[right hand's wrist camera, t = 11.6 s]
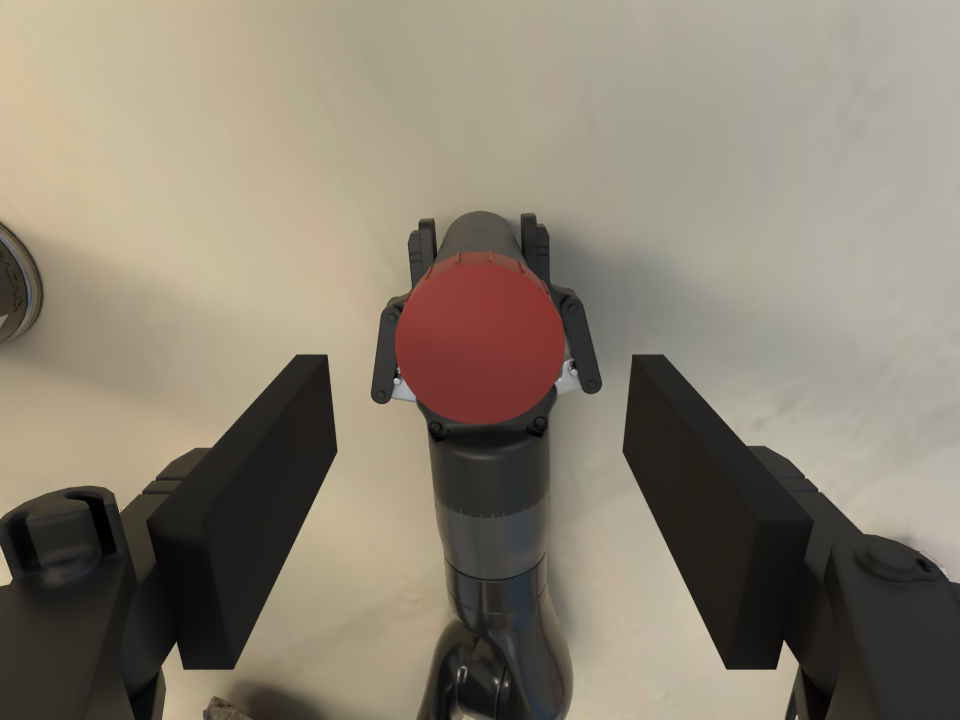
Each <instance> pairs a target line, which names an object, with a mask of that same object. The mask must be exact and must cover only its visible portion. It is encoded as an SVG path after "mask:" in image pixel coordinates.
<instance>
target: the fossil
mask: <svg viewBox="0 0 960 720" xmlns="http://www.w3.org/2000/svg"><path fill="white" fill-rule="evenodd" d="M203 719H204V720H254V719H252V718H250V717H249V716H247V715H245V714H244V713H243V712H242V711H241V710H239V709H238V708H237V707H236V706H235V705H234V704H232V703H230V702H227V701H225V700H223V699H220V698H217V697H215V696H214V697H213V698H212V699H211V701H210V704H209V706H208V708H207V709H206V710H204V711H203Z"/></svg>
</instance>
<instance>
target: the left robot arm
mask: <svg viewBox="0 0 960 720" xmlns="http://www.w3.org/2000/svg"><path fill="white" fill-rule="evenodd" d="M521 249H522V255H523V257H524V260H525V262H526V264H527V267H528V269H530V270H531V271H532V272H533V273H534V274H535V275H536V276H537V277H538V278H539V279H540V281H542V280H543V281H544V282H545V284H546V286H547V288H548V290H549V292H550V297H551V299H552V301H553V303H554V305H555V307H556V308H557V310H558V312H559V314H560V316H561V318H562V320H563V323H564V324H562V325H563V328H564V332H565V336H566V340H567V344H568V347H569V351H570V353H569V354H566V355H564V358H563V363H562V366H561V369H560V372H559V375H558V377H557V379H556V381H555V383H554V384H553V386H552V387H551V389H550V390H549V392H548V393H547V394H546V395H545V396H544V397H543V398H542V399H541V400H540V401H539V402H538V403H537V404H536V405H535V406H533V407H532V408H531V409H529V410H528V411H526V412H525V413H523V414H521V415H519V416H517V417H514V418H512V419H509V420H506V421H502V422H498V423H492V424H467V423H462V422H457V421H454V420H451V419H448V418H445V417H443V416H441V415H439V414H437V413H435V412H434V411H432V410H431V409H429V408H428V407H427V406H425V405H424V404H423V403H422V402H421V401H420V400H419V399H418V398H417V397H416V396H415V395H414V394H413V393H412V392H411V390H410V389H409V387H408V386H407V384H406V383H405V381H404V379H403V377H402V375H401V372H400V369H399V366H398V363H397V358H396V350H395V338H396V335H395V332H396V329H397V326H398V322H399V319H400V317H401V314H402V312H403V309H404V307H405V305H404V302H405V300H406V298H407V296H408V294H409V293H407V294H405V295H403V296H400V297H393V298H392V299H390V301H389V302H388V304H387V307H386V308H385V309H384V310H383V312H382V314H381V320H380V328H379V335H378V343H377V351H376V358H375V366H374V374H373V381H372V389H371V397H372V399H373V400H374V401H375V402H376V403H379V404H385V403H387V402H389V401H390V399H391V398H392V399H398V400H404V401H410V402H416V403H417V406H418V408H419V409H420V411H421V412H422V413H423V415H424V417H425V419H426V421H427V427H428V437H429V448H430V458H431V468H432V478H433V488H434V498H435V508H436V517H437V524H438V529H439V533H440V537H441V540H442V544H443V550H444V561H445V571H446V582H447V591H448V597H449V602H450V606H451V609H452V612H453V613H454V615H455V618H454V619H453V620H452V621H451V622H450V623H449V624H448V625H447V626H446V627H445V629H444V630H443V632H442V633H441V635H440V637H439V640H438V642H437V645H436V648H435V651H434V655H433V659H432V663H431V667H430V671H429V675H428V679H427V683H426V687H425V691H424V694H423V698H422V701H421V705H420V708H419V711H418V714H417V717H416V720H462V719H463V717H464V715H468V716H470V717H472V718H474V719H476V720H565V719H566V717H567V714H568V712H569V709H570V705H571V701H572V694H573V669H572V661H571V656H570V652H569V648H568V645H567V641H566V639H565V636H564V633H563V630H562V627H561V625H560V622H559V619H558V616H557V614H556V611H555V608H554V605H553V602H552V599H551V596H550V593H549V591H548V587H547V535H548V529H549V522H550V465H549V414H550V411H551V409H552V407H553V405H554V403H555V402H556V399H557V395H561V394H565V393H568V392H572V391H576V390H579V389H583V391H584V392H586V393H588V394H594V393H597V392H598V391H599V390H600V389H601V387H602V380H601V376H600V372H599V368H598V364H597V360H596V356H595V352H594V348H593V344H592V340H591V336H590V332H589V328H588V324H587V320H586V315H585V311H584V307H583V304H582V302H581V301H580V299H579V298H578V296H577V295H576V293H575V292H574V291H573V290H572V289H569V288H561V287H558V286H555V285H553V284H551V283H550V270H549V234H548V232H547V230H546V227H545V226H544V225H543V224H537V223H536V215H535V214H534V213H527V214H521ZM408 250H409V260H410V270H411V280H412V290H414V288H415V286H416V285H417V283H418V282H419V281H420V279H421V278H422V277H423V276H424V275H425V274H426V273H427V271H428V269H429V267H431V266H432V267H433V264H434V262H435V259H436V257H437V244H436V232H435V222H434V218H432V219H421V220H420V221H419V230H414V231H413V232H412V233H411V234H410V238H409V241H408ZM40 301H41V289H40V283H39V278H38V275H37V272H36V269H35V267H34V264H33V262H32V260H31V259H30V257H29V255H28V254H27V252H26V251H25V249H24V248H23V246H22V245H21V244H20V243H19V241H18V240H17V239H16V238H15V237H14V236H13V235H12V234H11V233H10V232H9V231H8V230H7V229H5V228H4V227H3V226H2V225H0V344H1V343H4V342H6V341H9V340H11V339H13V338H16V337H18V336H19V335H21V334H22V333H24V332H25V331H26V330H27V329H28V328H29V327H30V326H31V325H32V323H33V322H34V320H35V318H36V316H37V314H38V311H39V307H40Z"/></svg>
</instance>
